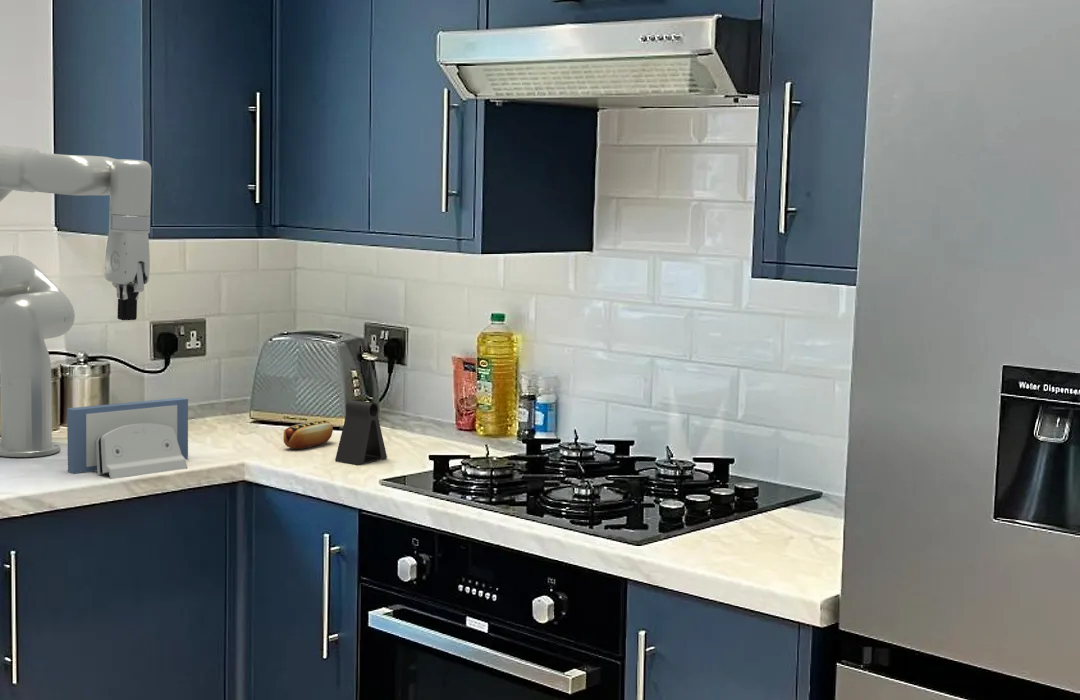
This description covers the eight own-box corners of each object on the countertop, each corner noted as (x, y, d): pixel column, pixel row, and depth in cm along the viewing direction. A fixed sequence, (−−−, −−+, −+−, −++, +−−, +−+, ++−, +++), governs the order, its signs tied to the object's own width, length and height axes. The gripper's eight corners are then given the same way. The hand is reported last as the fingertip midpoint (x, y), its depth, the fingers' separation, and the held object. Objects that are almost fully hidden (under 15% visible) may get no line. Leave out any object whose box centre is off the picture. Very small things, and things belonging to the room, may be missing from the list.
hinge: (109, 479, 263) (100, 426, 265) (97, 483, 267) (88, 431, 268) (189, 467, 275) (179, 417, 277) (176, 472, 279) (167, 422, 280)
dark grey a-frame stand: (364, 455, 293) (365, 397, 292) (387, 459, 290) (388, 400, 288) (334, 461, 286) (335, 402, 284) (357, 465, 282) (358, 405, 281)
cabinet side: (67, 471, 269) (67, 408, 267) (181, 456, 285) (181, 397, 284) (74, 473, 267) (73, 410, 266) (188, 459, 284) (188, 399, 282)
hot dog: (338, 443, 305) (338, 420, 304) (297, 452, 294) (298, 428, 293) (320, 440, 307) (320, 417, 307) (279, 450, 296) (279, 426, 295)
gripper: (93, 221, 277) (91, 315, 279) (129, 227, 266) (127, 325, 269) (129, 222, 282) (127, 314, 284) (166, 227, 271) (163, 324, 274)
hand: (127, 319), depth 277 cm, fingers closed
